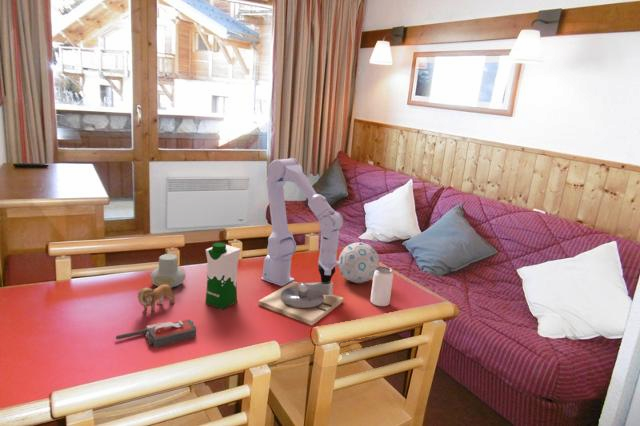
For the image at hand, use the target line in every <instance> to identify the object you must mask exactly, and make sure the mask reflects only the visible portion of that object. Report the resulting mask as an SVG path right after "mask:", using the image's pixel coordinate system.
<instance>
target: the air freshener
mask: <svg viewBox="0 0 640 426" xmlns="http://www.w3.org/2000/svg"><path fill="white" fill-rule="evenodd" d="M178 263H179V262H178V256H177V255H176V254H172V253H165V254H162V255H160V256H159V257H158V267H157V268H155V269H154V270H153V271H152V272H151V274H150V281H151V282H152V283H153V285H155V286H156V287H159V286H160V285H165V284H167V285H169V286H170V287H171V289H172V288H175V287H177V286H179V285H181V284H182V283H183V282H184V281H185V279H186V272H185V271H184V270H183V268H182V267H179V266H178Z"/></svg>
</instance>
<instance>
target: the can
mask: <svg viewBox="0 0 640 426" xmlns="http://www.w3.org/2000/svg"><path fill="white" fill-rule="evenodd" d="M393 279H394V273H393V269H391V268H390V267H386V266H379V267H377V268H376V270H375V272H374V276H373V278H372V285H371V292H370V293H371V294H370V302H371V304H372V305H373V306H376V307H380V308H383V307H387V306H388V305H390V300H391V295H392V286H393V281H394V280H393Z"/></svg>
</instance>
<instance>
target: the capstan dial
mask: <svg viewBox="0 0 640 426" xmlns="http://www.w3.org/2000/svg"><path fill="white" fill-rule="evenodd" d="M298 283H299V286H296V287H290V288H287V289H285V290H283V291H282V292H281V301H282V302H283V303H284V304H285V305H287V306H290V307H293V308H297V309H313V308H317V307H319V306H321V305H322V304H323V301H324V296H323V295H332V294H333V288H334V283H333V281H331V280H330V281H328V282H321V281H319V282H318V281H317V282H303V281H302V282H298Z"/></svg>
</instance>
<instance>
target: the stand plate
mask: <svg viewBox="0 0 640 426" xmlns="http://www.w3.org/2000/svg"><path fill="white" fill-rule="evenodd" d="M299 283H300V282H297V281H295V280H293V281H291V282H289V283H287V284H286V285H284V286H281V288H279V289H277V290H275V291H274V292H271V293H270V294H268V295H266V296H264V297H263V298H261V299H259V300H258V303H257V304H258V306H260V307H263V308H266V309H267V310H270V311H272V312H276V313H278V314H281V315H283V316H286V317H289V318H292V319H294V320H297V321H298V322H302V323H305V324H306V325H309V326H314V325H315V324H316V323H317V322H318V321H320V320H321V319H322V318H324V317H326V316H327V315H328V314H329V313H330V312H332V311H333V310H334V309H335V308H337V307H338V306H340V305H342V303H343V302H344V297H342V296H339V295H336V294H333V293H332V295H323V296H324V301H323V304H322V305H321V306H319V307H317V308H313V309H297V308H293V307H290V306H287V305H285V304H284V303H283V302H282V301H281V292H282V291H283V290H285V289H287V288H290V287H296V286H299Z"/></svg>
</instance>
